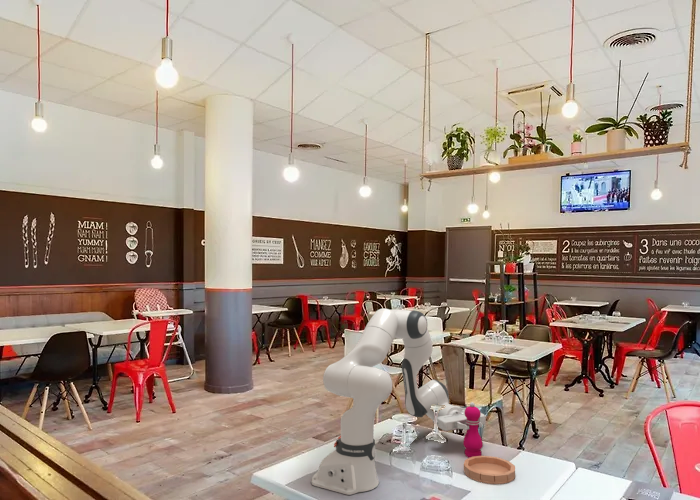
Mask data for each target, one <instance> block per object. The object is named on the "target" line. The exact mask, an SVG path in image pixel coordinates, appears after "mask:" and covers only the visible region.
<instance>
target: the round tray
mask: <svg viewBox="0 0 700 500" xmlns="http://www.w3.org/2000/svg"><path fill="white" fill-rule="evenodd" d="M463 471H464V472H463V473H464V474H465V476H467V477H468V478H469V479H470V480H472V481H476V482H478V483H481V482H482V483H483V484H486V485H504V484H509V483H511V482H512V481H514V480H515V479H516V465H514V464H513V463H512V462H511V461H510V460H507V459H504V458H500V457H499V456H498V457H497V456H493V455H491V456H490V455H482V456H473V457H470V458H469V457H467V458H466V459H465V460H464V462H463Z"/></svg>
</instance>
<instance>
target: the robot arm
mask: <svg viewBox="0 0 700 500" xmlns="http://www.w3.org/2000/svg"><path fill="white" fill-rule="evenodd" d="M394 339H397V340H398V339H400V340H402V342H403V346H404V355H403V360H402V361H401V372H402V380H403V388H404V395H405V397H404V405H405V408H406V411H407V412H408V414H410V416H412V417H415V418H423V417H424V416H425V415H426V416H427V417H428V418H430V420H432V423H434V412H433V411H432V410H431V409H430V408H431V405H432V404H436V405H445V406H446V407H445V406H444V407H445V408H444V409H442V410H440V411H439V413H438V417H437V424H436V426H437V427H438V428H439V429H441V430H442V431H444V432H445V431H446V432H449V431H453V430H454V431H455V430H463V431H467V430H469V425H467V423H466V419H467V418H466V416H465V414H464V412H465V409H466V408H467V407H468V406H465V405H464V406H463V405H462V406H460V405H453V404H450V395H449V391H448V388H447V387H446V385H445V383H442V382H441V381H439V380H437V379H431V380H429V381H428V382H426V383H424V384H423V385H422V386H420V387H419V388H418V383H417V382H418V381H417V376H418V374H419V371H420V370H421V369H422V367H423V365H425V364H426V362H427V361H428V360H429V359H430V358H431V355H432V353H433V349H434V348H433V347H434V346H433V342H432V338H431V335H430V332H429V329H428V319H427V317H426V316H425V315H424V313H422V311H419V310H408V309H399V308H398V309H397V308H396V309H389V308H383V307H382V308H380V309H377V310H376V312H374V313H373V314H372V317H370V319H369V321H368V322H367V324H366V326H365V328H364V329H363V332H362V333H361V335H360V336H359V339H358V341H357V343H355V346H354V347H353V348H352V349H351V350H350V351H349V352H348V354H346V355H345V356H344V357H342V358H341V359H339V360H338V361H335V362H333V363H331V364H329V365H328V366H327V367H326V368H325V370H324V373H323V376H322V382H323V385H324V388H325V389H326V390H327V392H330V393H332V394H334V395H336V396H339V397H344V398H351V399H352V400H353V404H352V407H351V408H349V409H348V410H345V412H343V414H342V415H341V417H340V435H339V436H338V438H337V439H336V440H335V442H334V444H333V448H335V449H334V450H332V452H331V453H329V454H328V455H326V456H325V457H324V458H323V459H322V460H321V462H320V464H319V467H318V471H316V472H315V473H314V474H313V475H312V477H311V485H312V486H315V487H318V488H322V489H325V490H330V491H333V492H335V493H340V494H343V495H347V496H349V495H355V494H357V493H362V492H369V491H371V490H374V489H375V488H377V487H378V486H379V484H380V480H379V477H378V473H377V469H376V468H377V467H376V463H375V457H376V442H375V441H376V440H375V437H374V431H375V429H374V428H375V427H374V426H375V425H374V424H375V416H376V412H377V410H378V409H379V406H380V405H381V404H382V403H383V402H384V401H386V400H387V399H388V398H389V396H390V395H391V393H392V391H393V380H392V377H391V375H390V374H389V373H390V372H387V371H386V370H383V369H381V368H378V367H375V366H378V365H379V364H381V363H383V362H384V360H385V359H386V357H387V356H388V352H389V351H390V349H391V346H392V344H393V342H394ZM438 403H439V404H438ZM480 413H481V416H480V418H479V424H478V429H480V428H483V425H485V424H486V414H484V413H483V412H480ZM434 424H435V423H434Z"/></svg>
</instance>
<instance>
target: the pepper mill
mask: <svg viewBox="0 0 700 500" xmlns="http://www.w3.org/2000/svg"><path fill="white" fill-rule="evenodd" d="M466 407H467V408H466V409H465V412H464V414H465V416H466V418H467V419H466V423H467V425H469V430H466V432H465V435H464V438H463V443H462V445H463V447H464V448H465V449H464V455H465V457H467V458H470V457H473V456H483V455H482V450H481V449H482V448H483V445H484V444H483V440H482V437H481V435H480V433H479V428H478V424H479V418H480V416H481V413H482V412H481V410H480V409H479V408H478V407H477V406H476V405H475V403H474V402H473V401H471V402H470V404H469V406H466Z"/></svg>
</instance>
